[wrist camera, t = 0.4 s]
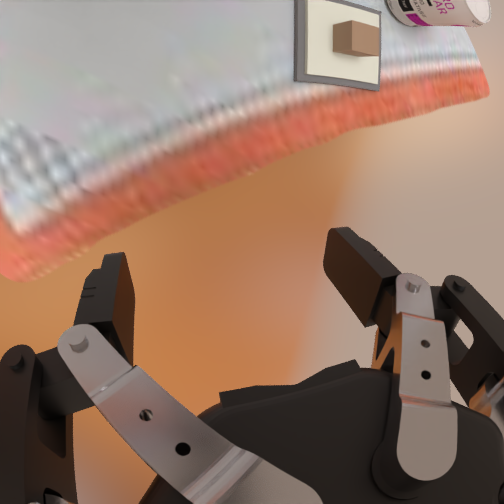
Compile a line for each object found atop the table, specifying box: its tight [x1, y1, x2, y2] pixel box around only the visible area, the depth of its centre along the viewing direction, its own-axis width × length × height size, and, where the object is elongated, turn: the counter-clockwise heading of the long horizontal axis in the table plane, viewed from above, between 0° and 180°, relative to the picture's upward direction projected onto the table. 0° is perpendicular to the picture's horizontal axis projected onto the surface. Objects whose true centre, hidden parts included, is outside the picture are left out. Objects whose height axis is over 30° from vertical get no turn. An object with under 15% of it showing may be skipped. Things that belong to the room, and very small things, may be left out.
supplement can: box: [387, 0, 491, 27], centre depth 22 cm, size 8×8×15 cm
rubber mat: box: [294, 0, 381, 91], centre depth 31 cm, size 13×13×1 cm
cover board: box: [305, 0, 379, 84], centre depth 28 cm, size 11×11×5 cm
